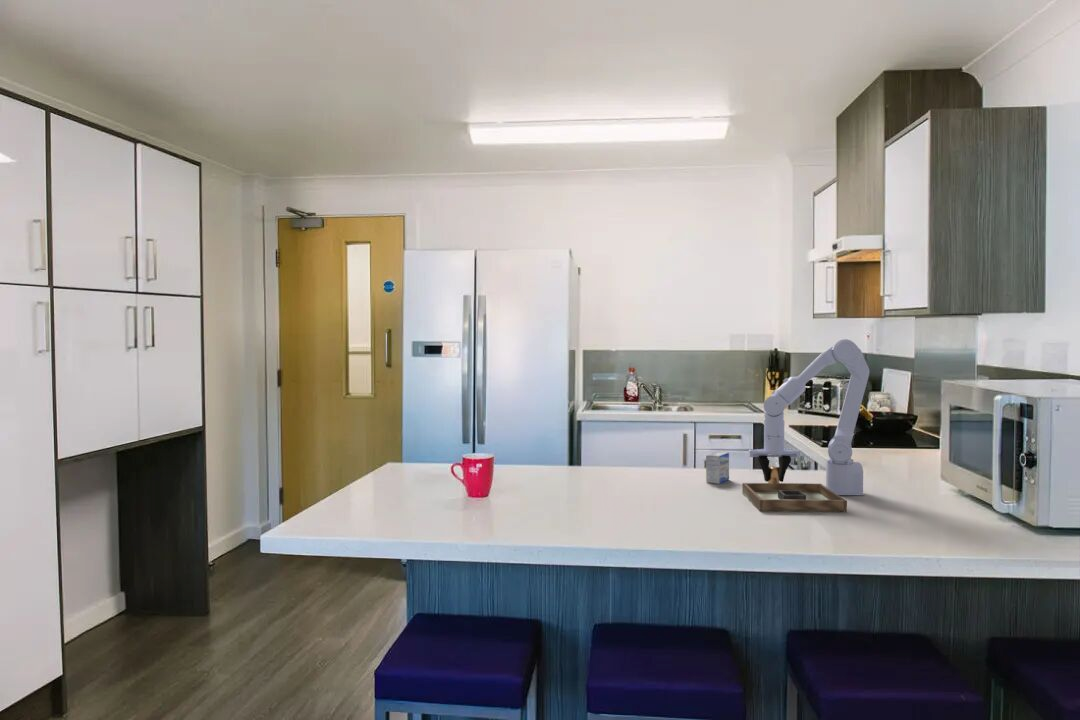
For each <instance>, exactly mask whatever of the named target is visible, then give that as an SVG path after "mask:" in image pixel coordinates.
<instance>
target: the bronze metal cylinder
mask: <svg viewBox="0 0 1080 720" xmlns="http://www.w3.org/2000/svg"><path fill="white" fill-rule="evenodd" d="M768 472H769V482H767V483H780V481H779V475H780V468H779V466H770V465H769V470H768Z"/></svg>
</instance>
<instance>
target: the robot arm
mask: <svg viewBox="0 0 1080 720" xmlns="http://www.w3.org/2000/svg"><path fill="white" fill-rule="evenodd" d="M837 361H839V362H840V363H842V364H843V365H844V366H845V368H846V369H847V371H848V372H849V373H850V378H849V382H848V385H847V389H846V393H845V397H844V401H843V404H842V407H841V412H840V414H839V418H838V422H837V427H836V430H835V433H834V436H833V437H832V438H831V439H830V441H828V442H829V443H828V445H827V454H828V456H829V457H828V458H826V462H825V468H826V469H825V487H827V488H828V489H830V490H831V491H833V492H834V493H836V494H837V495H839V496H864V495H865V493H864V469H863V465H862V464H861V463H860V462H858V461H857V462H856V461H855V462H854V459H852V455H853V449H852V448H853V447H852V442H853V437H854V432H855V428H856V425H857V421H858V417H859V413H860V409H861V406H862V403H863V397H864V395H865V391H866V388H867V383H868V380H869V378H870V377H869V376H870V369H869V368H870V367H869V366H868V363H867V361H866V359H865V357H864V354H863V352H862V350H861V348H859V347H858V345H857V344H856V343H855V342H854V341H852V340H851V339H845V338H843V339H840V340H838V341H837V342H836V343H835V344H834V345H832V346H830V347H829V348H827V349H826V350H824V351H823V352H821V353H820V354H819V355H818V356H817V357H816V358H815V359H814V360H813V361H812V362H810V364H809V365H808V366H807V367H806V368H804V370H803V371H802V372H801V373H800V374H798V375H797V376H789V377H786V378H784V379H783V382H782V384H781V385H780V386H779V387H778V388H777V389H775V390H772V391H771V394H772V395H770V396H768V397H767V398H766V399H765V400H764V402H763V409H764V421H763V448H760V449H759V448H757V449H748V457H749V458H754V457H755V458H757V461H758V463H759V465H760V468H761V470H762V475H763V479H764V481H765V483H768V482H769V472H768V470H769V467H770V460H769V458H778V467H779V468H780V475H779V482H780V483H784V479H785V475H786V472H787V469H788V467H789V466H790V464H791V462H792V458H800V457H801V450H798V449H786V448H785V420H784V419H785V418H784V417H785V416H784V415H785V413H784V411H785V409H786V406H790V405H791V404H793V402H795V401H796V400H797V399H798V398H799V397H800V396H801V395H802V394H803V393H804V392H805V391H806V384H807V383H809V382H810V380H812V378H814V377H815V376H817V375H818V373H821V371H822V370H823V369H824V368H825V367H827V366H830V365H835V364H837Z"/></svg>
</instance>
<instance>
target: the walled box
mask: <svg viewBox="0 0 1080 720" xmlns="http://www.w3.org/2000/svg"><path fill="white" fill-rule="evenodd" d="M741 485H742V487H741V488H742V489H741V490H742V492H741V493H742V495H743V496H744V497H745V498H746V499H747V500H748V501H749V502H750V503H751V504H752V505H753V506H754V507H755V508H756V510H758V511H759V512H773V513H774V512H776V513H777V512H778V513H782V512H783V513H786V512H787V513H789V512H790V513H792V512H793V513H848V500H846V499H845V498H844V497H842V496H841V495H837V494H836V493H834V492H833V491H831V490H830V489H828V488H827V487H826V485H824V484H822V483H805V482H804V483H803V482H801V483H797V482H796V483H795V482H794V483H793V482H792V483H789V482H788V483H787V482H779V483H768V482H742V484H741Z"/></svg>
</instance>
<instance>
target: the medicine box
mask: <svg viewBox="0 0 1080 720" xmlns="http://www.w3.org/2000/svg"><path fill="white" fill-rule="evenodd" d="M728 480H730V453H729V452H724V451H714V452H712V453H710V454H707V455H705V482H706V483H709V484H716V485H720V484H723V483H725V482H728Z"/></svg>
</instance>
